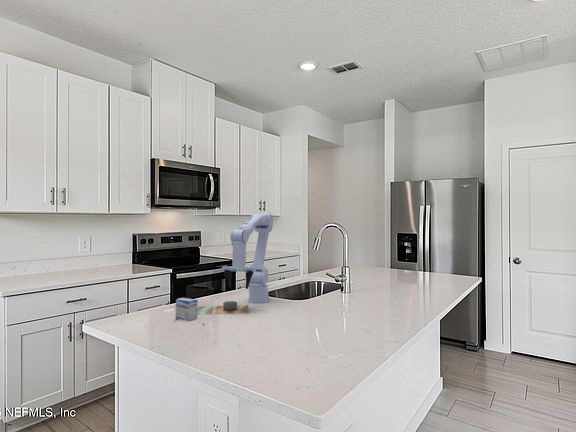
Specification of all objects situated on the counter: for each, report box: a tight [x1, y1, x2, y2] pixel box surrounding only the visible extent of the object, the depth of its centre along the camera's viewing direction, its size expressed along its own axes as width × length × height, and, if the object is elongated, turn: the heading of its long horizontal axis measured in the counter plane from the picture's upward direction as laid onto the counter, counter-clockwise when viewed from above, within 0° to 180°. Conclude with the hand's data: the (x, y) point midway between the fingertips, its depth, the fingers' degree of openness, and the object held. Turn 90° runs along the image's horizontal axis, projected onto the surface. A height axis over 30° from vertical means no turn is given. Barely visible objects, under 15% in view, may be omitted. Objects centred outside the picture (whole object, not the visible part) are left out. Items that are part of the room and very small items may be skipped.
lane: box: [197, 304, 249, 316], centre depth 165 cm, size 28×14×1 cm, turn 97°
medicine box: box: [175, 297, 199, 322], centre depth 152 cm, size 8×4×9 cm, turn 62°
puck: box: [222, 300, 238, 311], centre depth 166 cm, size 6×6×3 cm
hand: (238, 288), depth 163 cm, fingers open, 7 cm apart
